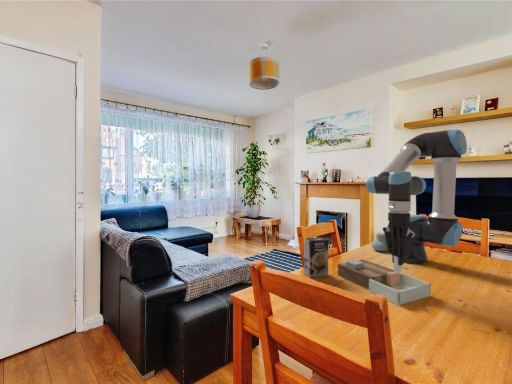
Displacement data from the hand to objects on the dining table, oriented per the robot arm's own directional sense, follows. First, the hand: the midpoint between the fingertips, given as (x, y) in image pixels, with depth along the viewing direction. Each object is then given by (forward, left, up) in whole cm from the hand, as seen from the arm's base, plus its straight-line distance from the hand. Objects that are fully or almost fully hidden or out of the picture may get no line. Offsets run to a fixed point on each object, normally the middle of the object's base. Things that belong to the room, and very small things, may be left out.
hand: (397, 272), depth 106 cm
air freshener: (-39, -41, -7) cm, 57 cm away
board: (+3, -12, -6) cm, 14 cm away
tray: (+3, +3, -6) cm, 8 cm away
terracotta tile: (0, -3, -3) cm, 4 cm away
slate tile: (+7, -15, -1) cm, 17 cm away
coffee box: (+19, -26, -7) cm, 33 cm away
